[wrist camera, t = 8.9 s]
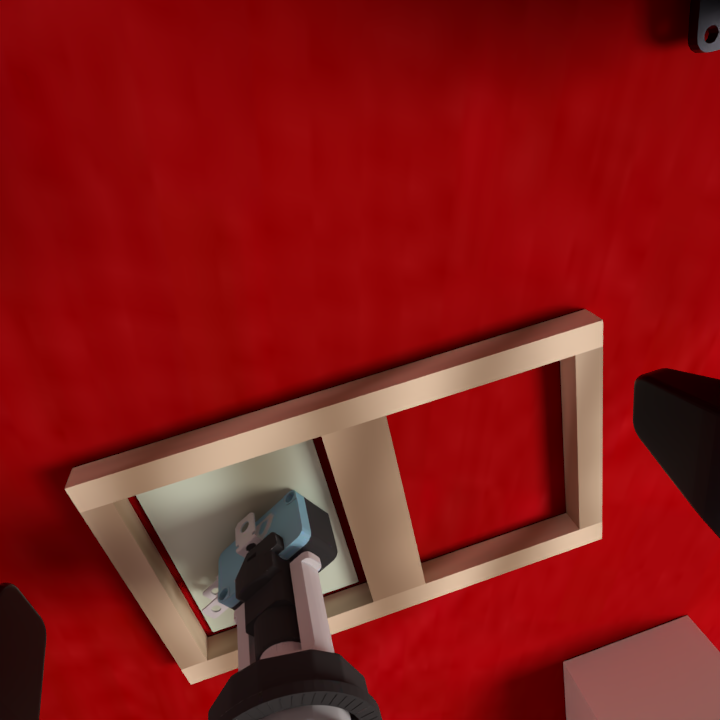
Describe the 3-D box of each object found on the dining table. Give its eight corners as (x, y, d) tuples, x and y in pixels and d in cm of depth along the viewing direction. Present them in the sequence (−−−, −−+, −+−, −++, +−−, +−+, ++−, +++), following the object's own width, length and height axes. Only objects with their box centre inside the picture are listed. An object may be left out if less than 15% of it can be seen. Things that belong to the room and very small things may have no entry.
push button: (251, 609, 26) (267, 880, 17) (157, 560, 23) (120, 850, 14) (355, 520, 25) (428, 761, 16) (268, 459, 22) (299, 705, 13)
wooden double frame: (585, 309, 22) (602, 320, 21) (587, 521, 28) (602, 538, 27) (72, 468, 20) (64, 488, 19) (192, 660, 26) (190, 684, 25)
